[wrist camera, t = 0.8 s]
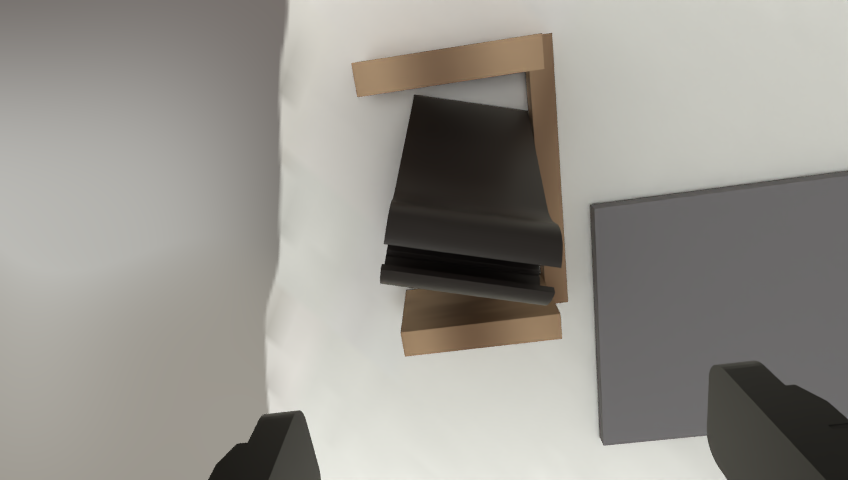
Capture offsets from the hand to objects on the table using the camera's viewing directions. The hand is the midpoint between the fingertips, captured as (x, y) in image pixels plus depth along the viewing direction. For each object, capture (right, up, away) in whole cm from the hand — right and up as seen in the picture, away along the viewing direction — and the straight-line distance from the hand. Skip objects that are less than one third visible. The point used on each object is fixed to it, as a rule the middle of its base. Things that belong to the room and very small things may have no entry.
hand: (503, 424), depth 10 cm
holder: (0, +7, +18) cm, 19 cm away
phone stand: (0, +7, +18) cm, 20 cm away
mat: (+17, -1, +20) cm, 26 cm away
